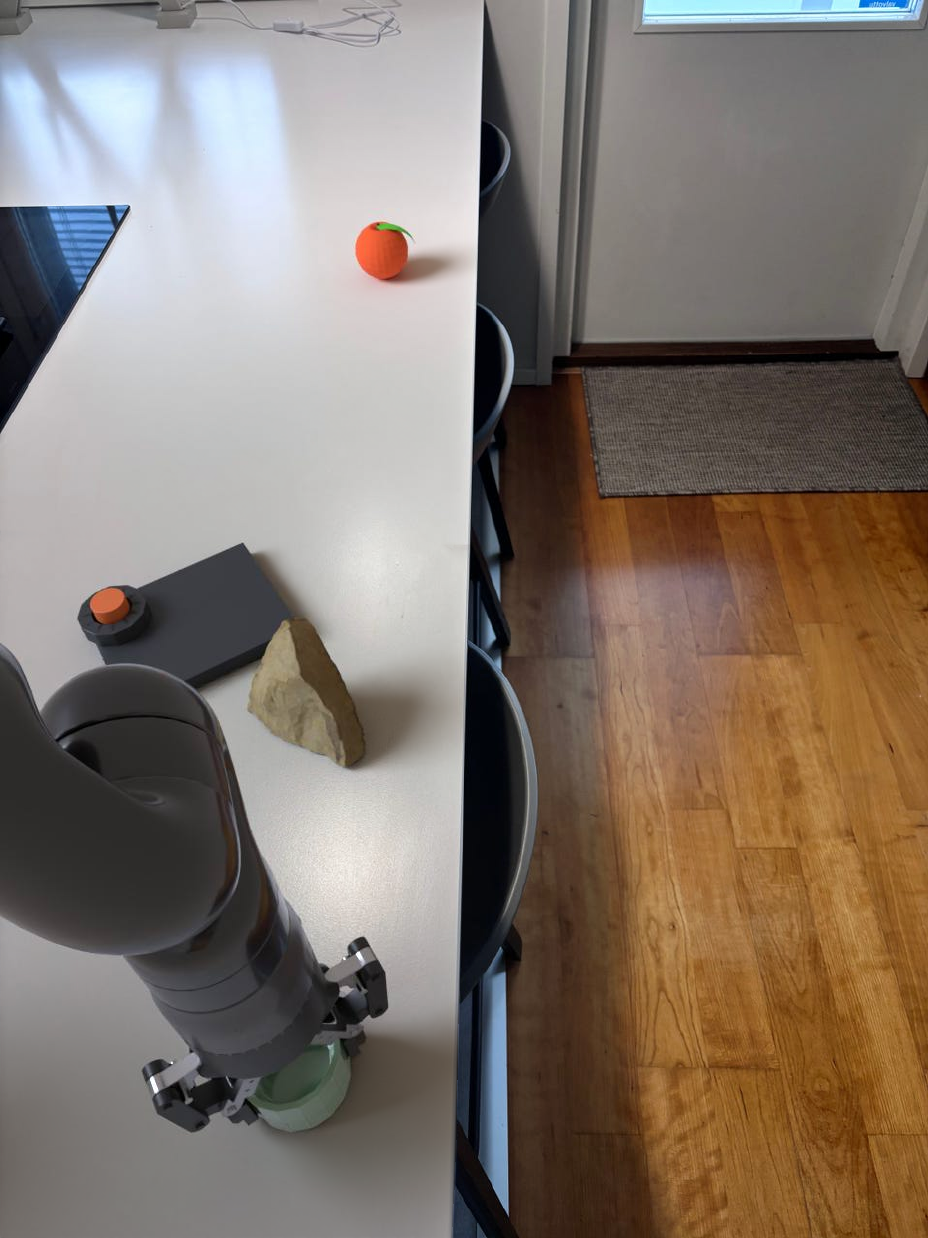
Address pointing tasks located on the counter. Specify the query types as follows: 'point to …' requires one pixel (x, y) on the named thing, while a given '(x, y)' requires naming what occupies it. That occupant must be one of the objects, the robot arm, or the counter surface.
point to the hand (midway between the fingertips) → (300, 1074)
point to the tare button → (110, 606)
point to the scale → (194, 619)
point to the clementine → (382, 249)
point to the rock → (306, 695)
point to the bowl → (304, 1088)
